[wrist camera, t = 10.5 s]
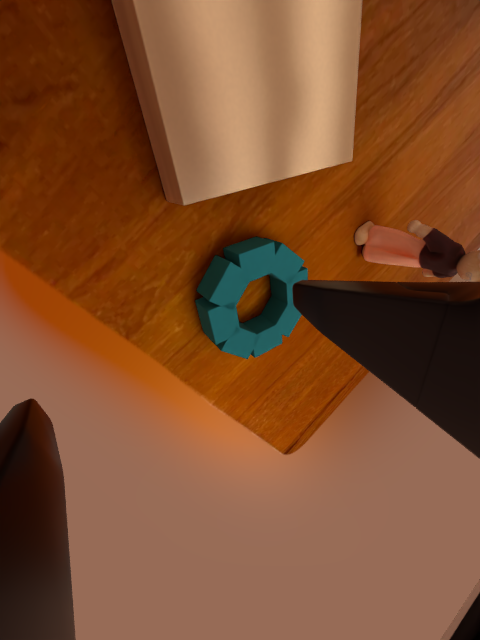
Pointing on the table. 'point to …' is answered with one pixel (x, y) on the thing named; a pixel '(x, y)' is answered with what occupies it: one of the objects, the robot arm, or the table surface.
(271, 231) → the table surface
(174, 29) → the board
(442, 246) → the grandmother figurine
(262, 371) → the table surface
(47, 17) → the table surface
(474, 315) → the robot arm
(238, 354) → the ring
